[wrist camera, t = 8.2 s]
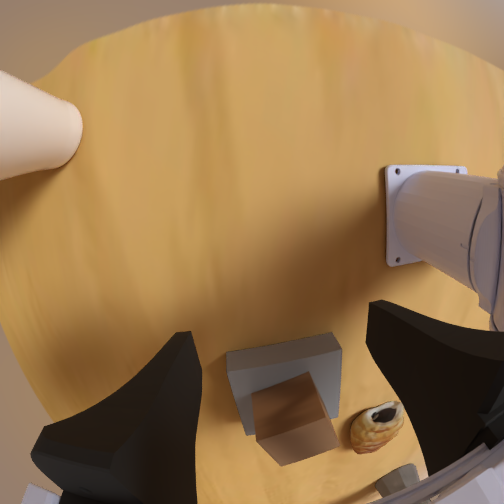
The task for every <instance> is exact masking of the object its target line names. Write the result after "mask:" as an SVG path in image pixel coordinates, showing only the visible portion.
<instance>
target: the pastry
mask: <svg viewBox="0 0 504 504" xmlns="http://www.w3.org/2000/svg"><path fill="white" fill-rule="evenodd" d="M403 410H404V406H403V404H402V403H401V402H397V401H390V402H387V403H384V404H382V405H379V406H377V407H375V408H371V409H368V410H366V411H364V412H363V413H362V414H360V415H358V416H357V417H356V419H355V420H354V421H353V422H352V426H351V428H350V440H351V445H352V447H353V450H354V451H355V452H356V453H357V454H365V453H372V452H375V451H377V450H378V449H380V448H381V447H382V446H384V445H385V444H387V443H388V442H389V441H390V440H392V439H393V438H394V437H395V436H396V435H397V434H398V432H399V429H400V428H401V427H402V426H403V423H404V417H403V414H404V412H403Z"/></svg>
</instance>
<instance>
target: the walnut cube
mask: <svg viewBox="0 0 504 504" xmlns="http://www.w3.org/2000/svg"><path fill="white" fill-rule="evenodd" d="M251 398H252V407H253V417H254V426H255V434H256V441H257V443H258V444H259V445H260V446H261V447H262V448H263V449H264V450H265V451H266V452H267V453H268V454H269V455H270V456H271V457H272V458H273V459H274V460H275V461H276V462H277V463H278V464H279V465H280V466H285V465H288V464H291V463H295V462H298V461H301V460H304V459H307V458H310V457H313V456H315V455H318V454H321V453H324V452H326V451H329V450H331V449H334V448H336V447H339V446H340V444H339V441H338V439H337V436H336V433H335V431H334V428H333V425H332V423H331V420H330V417H329V415H328V412H327V409H326V407H325V404H324V402H323V400H322V398H321V396H320V393H319V391H318V389H317V387H316V385H315V383H314V381H313V379H312V377H311V374H310V372H309V371H308V372H306V373H303V374H301V375H299V376H296V377H294V378H291V379H289V380H286V381H284V382H281V383H278V384H276V385H273V386H270V387H268V388H265V389H262V390H259V391H257V392H254V393H251Z"/></svg>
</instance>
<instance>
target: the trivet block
mask: <svg viewBox="0 0 504 504" xmlns="http://www.w3.org/2000/svg"><path fill="white" fill-rule="evenodd" d="M341 366H342V348H341V346H340V345H339V343H338V341H337V340H336V338H335V336H334V334H333V333H332V332H330V333H326V334H321V335H317V336H312V337H308V338H303V339H298V340H293V341H288V342H283V343H278V344H273V345H267V346H262V347H256V348H250V349H243V350H237V351H230V352H226V372H227V376H228V379H229V382H230V386H231V389H232V392H233V396H234V399H235V402H236V405H237V409H238V412H239V415H240V418H241V421H242V424H243V427H244V430H245V433H246V436H248V435H255V426H254V417H253V407H252V398H251V393H254V392H257V391H259V390H262V389H265V388H268V387H270V386H273V385H276V384H278V383H281V382H284V381H286V380H289V379H291V378H294V377H296V376H299V375H301V374H303V373H306V372H308V371H309V372H310V374H311V377H312V379H313V381H314V383H315V385H316V387H317V389H318V391H319V393H320V396H321V398H322V400H323V402H324V404H325V407H326V409H327V412H328V415H329V417H330V419H333V418H337V417H338V412H339V400H340V385H341Z"/></svg>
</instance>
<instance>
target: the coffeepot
mask: <svg viewBox="0 0 504 504" xmlns="http://www.w3.org/2000/svg"><path fill="white" fill-rule="evenodd" d="M418 482H420V479H419V476H418V472H417V469H416V466H415V465H414V464H407V465H404V466H402V467H399V468H397V469H395V470H393V471H391V472H390V473H388V474H386V475H385V476H383V477H382V478H381V479H379V480H378V481H377V483H376V485H375V487H376V489H377V490H378V492H379V493H380V495H381V496H382V497H383V498H384V497H386V496H389V495H391V494H394V493H396V492H398V491H401V490H403V489H405V488H407V487H409V486H412V485H414V484H416V483H418ZM429 502H431V500H430V499H429V500H427V501H425V502H423V503H421V504H427V503H429Z"/></svg>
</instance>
